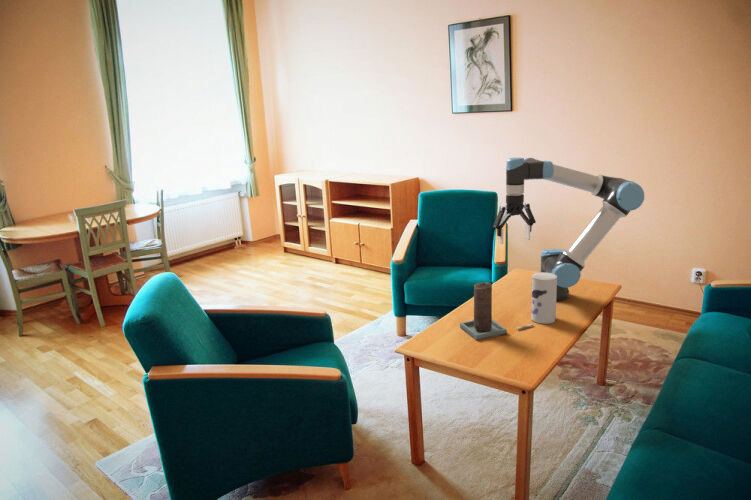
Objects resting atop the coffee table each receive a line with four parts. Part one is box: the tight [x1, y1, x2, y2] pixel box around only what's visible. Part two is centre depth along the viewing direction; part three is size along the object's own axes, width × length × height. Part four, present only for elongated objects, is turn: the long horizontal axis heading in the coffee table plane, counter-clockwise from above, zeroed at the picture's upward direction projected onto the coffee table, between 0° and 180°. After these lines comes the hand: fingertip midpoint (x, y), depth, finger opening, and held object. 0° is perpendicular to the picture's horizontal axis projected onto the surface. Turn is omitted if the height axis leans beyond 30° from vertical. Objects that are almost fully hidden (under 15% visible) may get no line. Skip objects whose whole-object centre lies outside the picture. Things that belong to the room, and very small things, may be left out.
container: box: [530, 272, 557, 325], centre depth 225 cm, size 10×10×20 cm
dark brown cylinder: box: [473, 282, 493, 331], centre depth 217 cm, size 8×7×20 cm
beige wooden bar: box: [515, 323, 534, 331], centre depth 220 cm, size 8×1×1 cm, turn 115°
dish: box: [459, 319, 508, 341], centre depth 219 cm, size 14×14×2 cm
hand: (514, 241), depth 233 cm, fingers open, 13 cm apart
